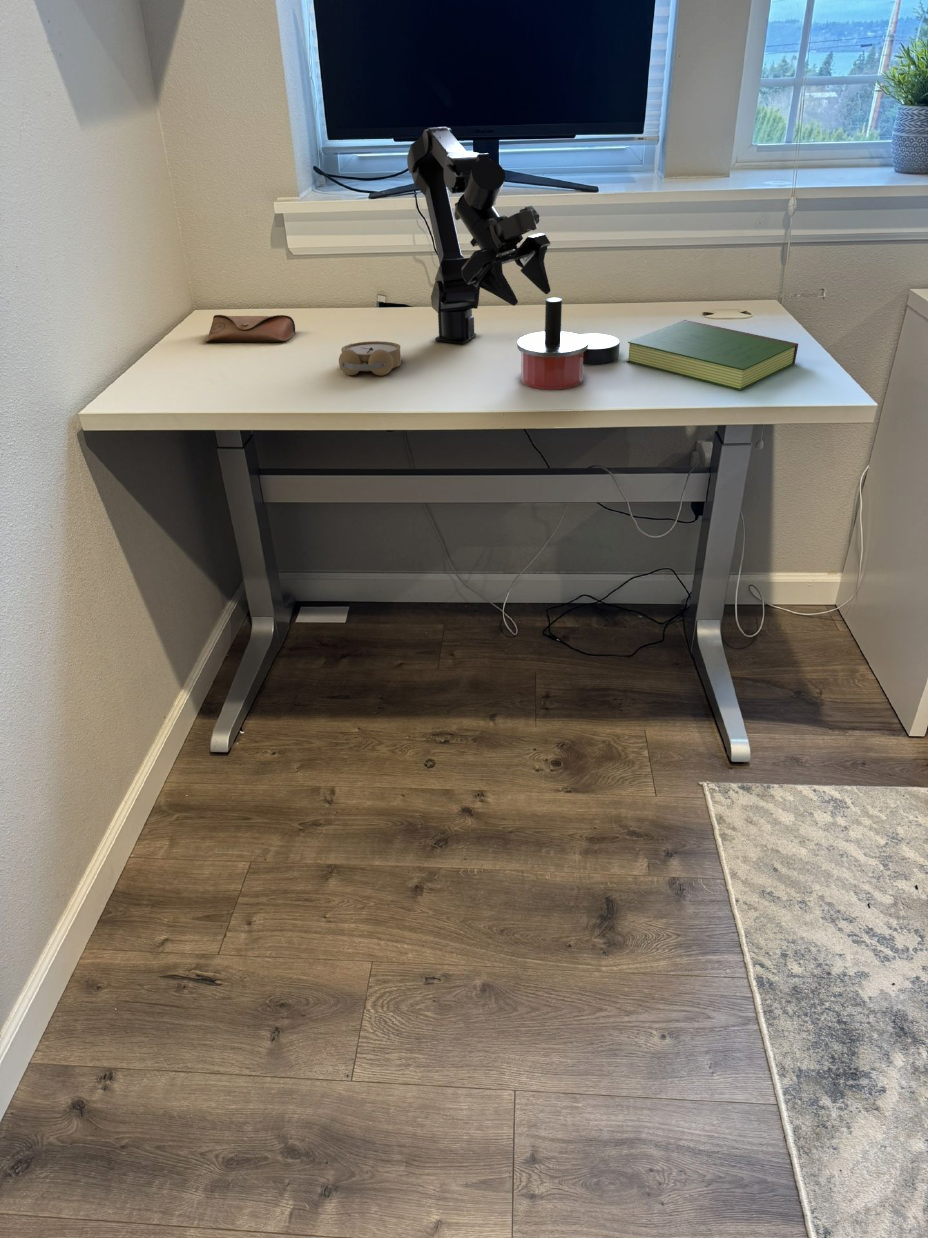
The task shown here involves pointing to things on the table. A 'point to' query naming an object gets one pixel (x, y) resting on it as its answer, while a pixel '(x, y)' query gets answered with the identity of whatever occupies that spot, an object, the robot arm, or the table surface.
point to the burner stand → (601, 349)
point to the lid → (552, 336)
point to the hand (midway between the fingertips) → (532, 298)
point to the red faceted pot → (552, 371)
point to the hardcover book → (712, 354)
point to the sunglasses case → (251, 329)
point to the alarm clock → (370, 357)
